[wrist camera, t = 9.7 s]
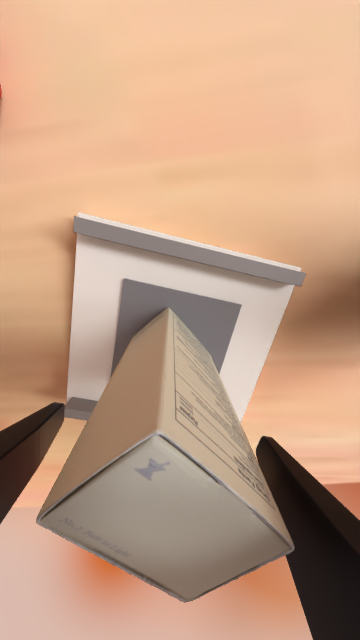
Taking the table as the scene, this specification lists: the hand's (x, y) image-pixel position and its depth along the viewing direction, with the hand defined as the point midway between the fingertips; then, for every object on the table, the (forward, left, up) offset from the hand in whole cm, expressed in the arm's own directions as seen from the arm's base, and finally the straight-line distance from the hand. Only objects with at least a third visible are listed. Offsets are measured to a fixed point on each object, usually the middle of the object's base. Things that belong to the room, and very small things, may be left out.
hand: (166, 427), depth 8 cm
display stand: (0, 0, -10) cm, 10 cm away
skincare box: (0, 0, -9) cm, 9 cm away
